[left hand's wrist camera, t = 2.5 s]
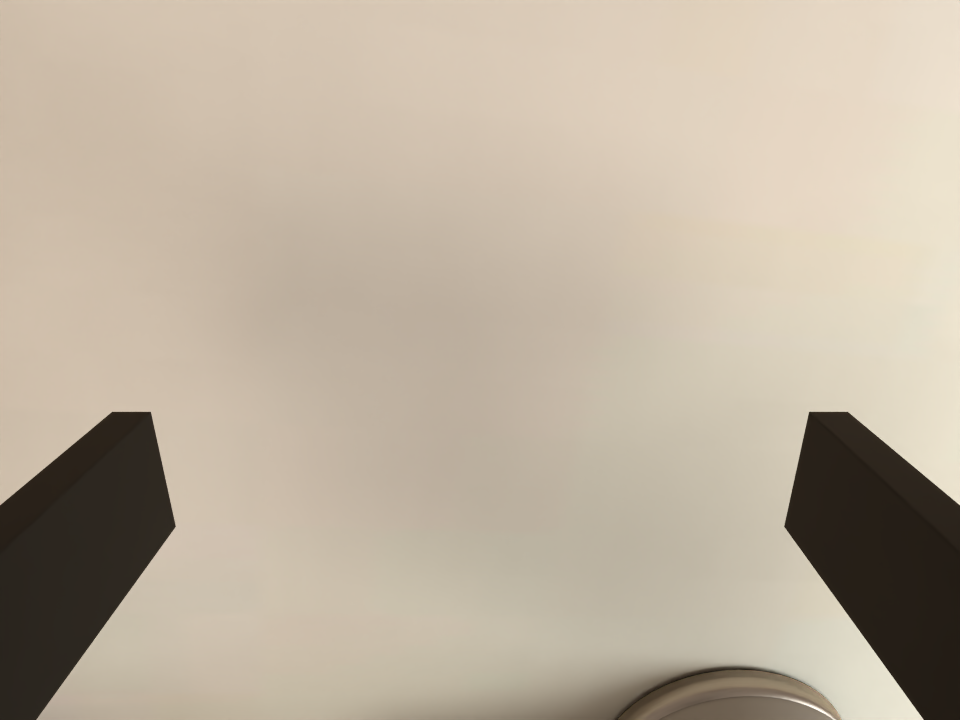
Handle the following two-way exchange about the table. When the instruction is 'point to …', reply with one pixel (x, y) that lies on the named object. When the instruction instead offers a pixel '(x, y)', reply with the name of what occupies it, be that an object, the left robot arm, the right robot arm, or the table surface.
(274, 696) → the table surface
